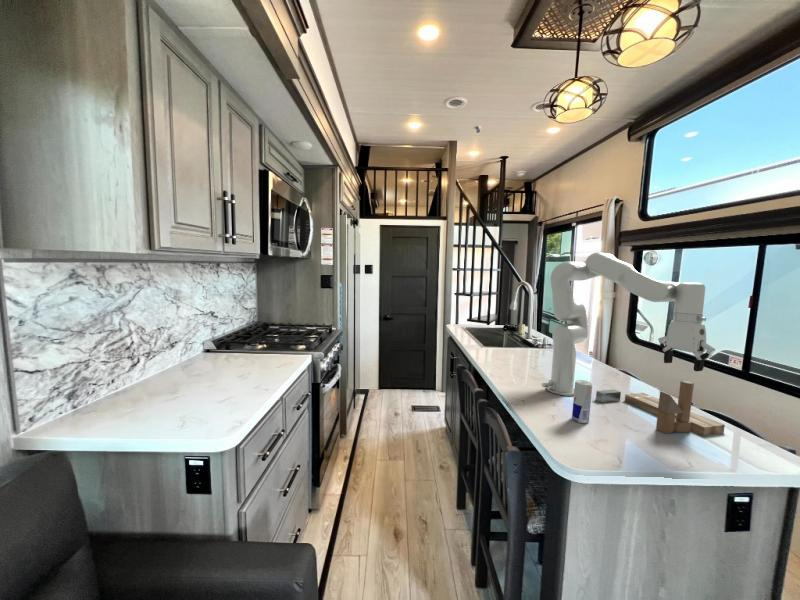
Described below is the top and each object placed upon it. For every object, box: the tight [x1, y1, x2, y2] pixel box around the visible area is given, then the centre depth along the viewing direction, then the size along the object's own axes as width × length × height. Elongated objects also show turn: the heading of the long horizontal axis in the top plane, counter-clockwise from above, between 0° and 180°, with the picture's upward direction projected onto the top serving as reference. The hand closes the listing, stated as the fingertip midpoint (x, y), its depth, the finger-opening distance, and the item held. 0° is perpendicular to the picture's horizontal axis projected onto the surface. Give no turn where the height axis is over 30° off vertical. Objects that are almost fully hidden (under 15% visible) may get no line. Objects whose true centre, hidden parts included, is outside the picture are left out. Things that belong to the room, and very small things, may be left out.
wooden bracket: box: [655, 380, 695, 434], centre depth 116 cm, size 4×11×18 cm, turn 99°
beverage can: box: [571, 379, 593, 424], centre depth 122 cm, size 6×6×15 cm
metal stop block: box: [595, 389, 622, 403], centre depth 143 cm, size 10×3×4 cm, turn 105°
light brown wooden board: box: [624, 392, 726, 437], centre depth 130 cm, size 10×30×3 cm, turn 15°
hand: (682, 366), depth 114 cm, fingers open, 9 cm apart
